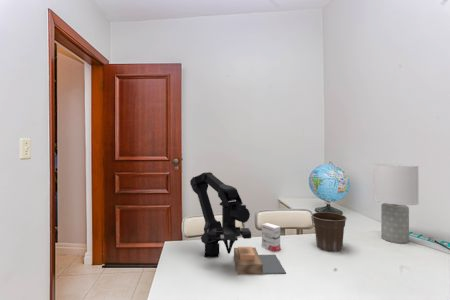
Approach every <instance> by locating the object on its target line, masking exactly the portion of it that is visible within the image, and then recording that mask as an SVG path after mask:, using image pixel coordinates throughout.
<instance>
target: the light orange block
mask: <svg viewBox="0 0 450 300" xmlns="http://www.w3.org/2000/svg"><path fill="white" fill-rule="evenodd" d="M237 248H238V253H239V257H240V260H255V255H254V252H253V250H252V246H237Z"/></svg>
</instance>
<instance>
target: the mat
mask: <svg viewBox="0 0 450 300" xmlns="http://www.w3.org/2000/svg"><path fill="white" fill-rule="evenodd" d="M258 255H259V257H260V259H261V262H262V264H263V274H262V275H287V271H286V270H285V268H284V266H283V265H282V263H281V261H280V260H279V258H278V256H277V255H276V254H258Z"/></svg>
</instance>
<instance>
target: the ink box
mask: <svg viewBox="0 0 450 300" xmlns="http://www.w3.org/2000/svg"><path fill="white" fill-rule="evenodd" d="M261 247H262V248H263V249H267V250H269V251H271V252H273V253H277V252H278V251H280V250H281V226H279V225H276V224H272V223H269V222H266V223H262V224H261Z"/></svg>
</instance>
